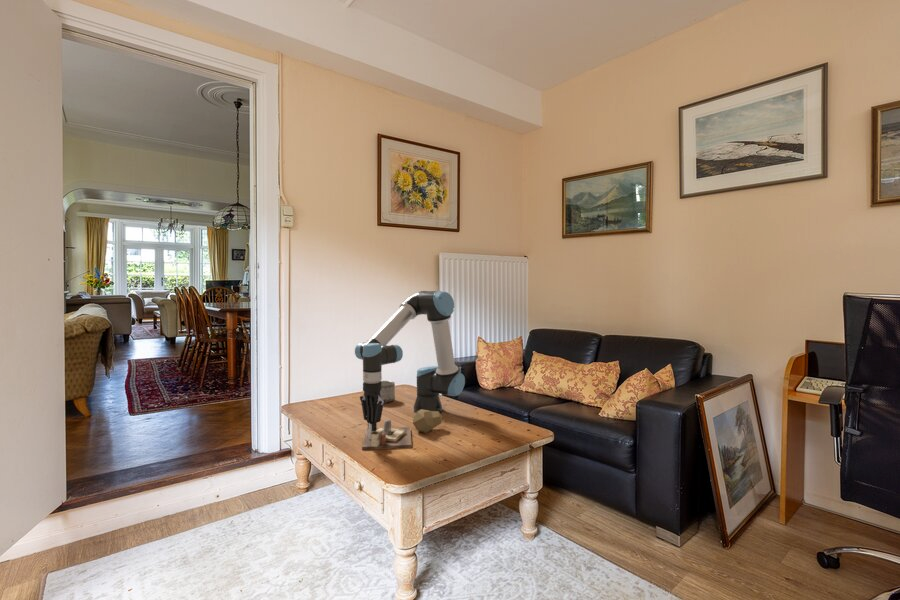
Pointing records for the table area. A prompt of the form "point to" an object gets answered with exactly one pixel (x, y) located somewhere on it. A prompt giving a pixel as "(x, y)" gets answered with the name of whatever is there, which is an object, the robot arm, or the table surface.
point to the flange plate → (394, 437)
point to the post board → (400, 443)
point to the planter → (387, 391)
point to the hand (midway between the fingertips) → (372, 438)
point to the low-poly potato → (426, 420)
